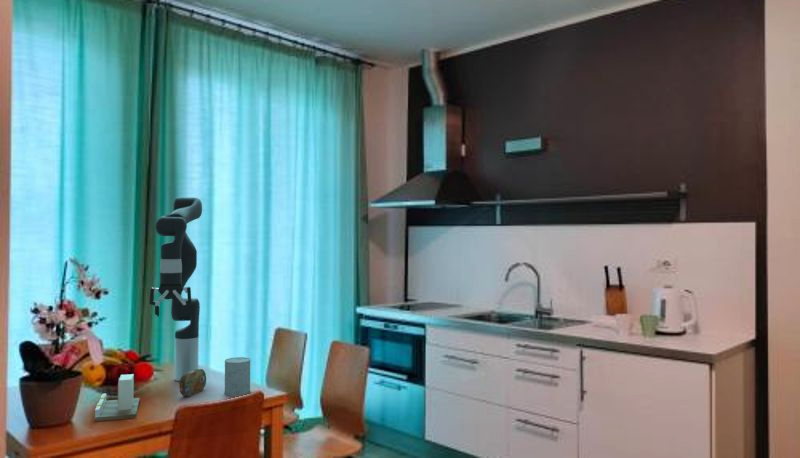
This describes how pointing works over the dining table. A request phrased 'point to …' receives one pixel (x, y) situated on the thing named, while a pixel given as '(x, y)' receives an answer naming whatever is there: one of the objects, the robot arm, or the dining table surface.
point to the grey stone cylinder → (237, 376)
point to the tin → (192, 382)
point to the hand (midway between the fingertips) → (170, 315)
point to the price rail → (100, 405)
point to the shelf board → (117, 411)
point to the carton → (125, 392)
